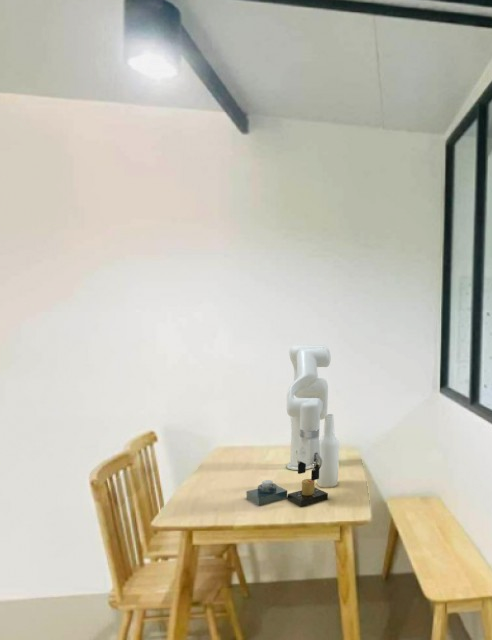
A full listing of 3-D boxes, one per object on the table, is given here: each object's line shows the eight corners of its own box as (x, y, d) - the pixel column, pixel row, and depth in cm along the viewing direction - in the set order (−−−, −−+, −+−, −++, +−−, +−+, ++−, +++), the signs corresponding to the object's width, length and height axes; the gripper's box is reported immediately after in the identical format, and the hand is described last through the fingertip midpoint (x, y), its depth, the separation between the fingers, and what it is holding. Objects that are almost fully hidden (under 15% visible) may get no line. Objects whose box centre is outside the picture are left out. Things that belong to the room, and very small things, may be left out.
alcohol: (337, 487, 213) (339, 416, 213) (316, 488, 212) (318, 417, 212) (338, 480, 222) (340, 412, 222) (317, 481, 220) (319, 413, 221)
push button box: (274, 491, 206) (274, 479, 206) (287, 498, 199) (287, 485, 200) (246, 498, 198) (246, 486, 198) (258, 506, 191) (258, 492, 191)
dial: (299, 493, 198) (299, 479, 198) (309, 490, 202) (310, 477, 202) (306, 496, 195) (306, 482, 195) (316, 493, 198) (316, 480, 198)
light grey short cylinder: (269, 484, 201) (269, 479, 201) (274, 487, 199) (274, 481, 199) (260, 486, 199) (260, 481, 199) (264, 489, 196) (265, 484, 196)
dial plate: (313, 493, 206) (314, 486, 206) (327, 499, 199) (328, 492, 199) (287, 500, 197) (287, 493, 197) (301, 507, 190) (301, 500, 190)
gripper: (289, 430, 202) (288, 472, 202) (313, 439, 190) (312, 484, 190) (306, 427, 207) (304, 468, 208) (330, 436, 195) (328, 479, 196)
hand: (308, 476), depth 199 cm, fingers open, 9 cm apart
